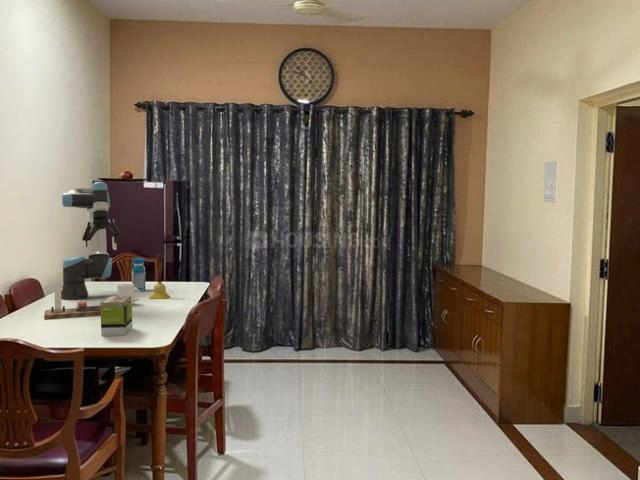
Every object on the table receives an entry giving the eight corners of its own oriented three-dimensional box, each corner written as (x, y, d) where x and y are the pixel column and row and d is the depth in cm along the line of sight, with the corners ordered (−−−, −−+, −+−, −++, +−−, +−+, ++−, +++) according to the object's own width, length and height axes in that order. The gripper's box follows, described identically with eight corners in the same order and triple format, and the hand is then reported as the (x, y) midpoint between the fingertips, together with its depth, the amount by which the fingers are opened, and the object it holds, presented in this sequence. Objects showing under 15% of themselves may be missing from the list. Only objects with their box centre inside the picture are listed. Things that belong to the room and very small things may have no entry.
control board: (44, 319, 284) (44, 310, 283) (45, 313, 297) (45, 305, 296) (123, 314, 298) (123, 305, 297) (121, 309, 311) (121, 300, 310)
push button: (77, 306, 294) (77, 303, 293) (77, 305, 298) (77, 301, 298) (87, 306, 295) (87, 302, 295) (86, 304, 299) (86, 301, 299)
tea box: (109, 328, 266) (109, 295, 265) (133, 328, 267) (132, 295, 266) (100, 336, 251) (99, 301, 250) (124, 336, 252) (124, 301, 251)
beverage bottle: (138, 292, 365) (137, 259, 364) (128, 290, 369) (128, 258, 368) (148, 290, 372) (148, 258, 371) (139, 289, 377) (139, 257, 375)
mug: (138, 305, 321) (138, 286, 320) (115, 305, 320) (115, 286, 319) (142, 302, 329) (141, 283, 328) (119, 303, 328) (119, 283, 327)
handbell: (173, 296, 352) (173, 254, 350) (166, 299, 339) (165, 256, 338) (153, 295, 353) (153, 253, 351) (145, 299, 341) (144, 255, 339)
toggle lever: (54, 309, 291) (54, 287, 295) (54, 310, 292) (54, 288, 296) (61, 309, 292) (61, 287, 296) (61, 309, 293) (61, 288, 297)
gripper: (74, 213, 308) (75, 253, 303) (119, 206, 304) (121, 246, 300) (82, 217, 315) (83, 256, 310) (126, 209, 312) (128, 249, 307)
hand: (102, 251), depth 305 cm, fingers open, 13 cm apart
